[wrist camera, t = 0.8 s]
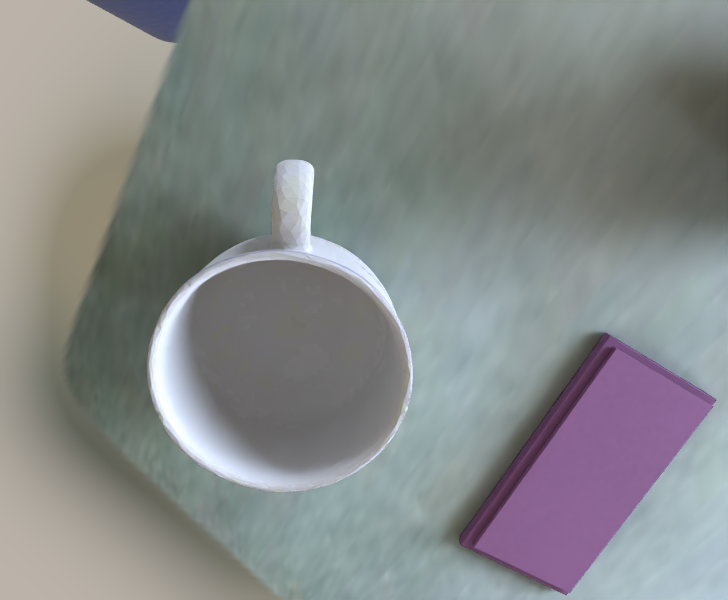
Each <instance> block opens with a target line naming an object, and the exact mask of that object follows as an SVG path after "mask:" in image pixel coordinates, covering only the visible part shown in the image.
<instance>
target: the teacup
mask: <svg viewBox="0 0 728 600" xmlns="http://www.w3.org/2000/svg"><path fill="white" fill-rule="evenodd" d="M313 179H314V168H313V166H312V165H311V164H310V163H308V162H305V161H302V160H284V161H282V162H279V163H278V164H277V165H276V168H275V174H274V181H273V197H272V234H270V235H265V236H260V237H256V238H253V239H250V240H247V241H244V242H242V243H240V244H237V245H235V246H234V247H232V248H230V249H228V250H226V251H225V252H223V253H222V254H220V255H219V256H217V257H216V258H215V259H214V260H213V261H211V262H210V263H209V264H208V265H207V266H206V267H205V268H203V269H202V270H201V271H200V272H199V273H197V274H196V275H194V276H193V277H192V278H190V279H189V280H188V281H187V282H185V283H184V284H183V285H182V286H181V287H180V288H179V290H178V291H177V292H176V293H175V294H174V296H173V297H172V298H171V300H170V301H169V302H168V304H167V305H166V306H165V308H164V310H163V311H162V313H161V315H160V317H159V319H158V321H157V324H156V326H155V329H154V332H153V335H152V338H151V341H150V345H149V351H148V357H147V379H148V386H149V391H150V395H151V398H152V402H153V405H154V408H155V410H156V413H157V415H158V417H159V418H160V420H161V422H162V424H163V426H164V428H165V430H166V431H167V433H168V434H169V435H170V437H171V438H172V440H173V441H174V442H175V443H176V444H177V445H178V446H179V448H180V449H181V450H182V451H183V452H184V453H186V454H187V455H188V456H189V457H190V458H191V459H192V460H193V461H195V462H196V463H197V464H198V465H200V466H202V467H203V468H205V469H207V470H208V471H210V472H212V473H213V474H215V475H217V476H219V477H221V478H224V479H226V480H229V481H231V482H234V483H236V484H239V485H241V486H245V487H250V488H254V489H259V490H263V491H269V492H277V491H279V492H294V491H305V490H311V489H315V488H319V487H323V486H327V485H331V484H333V483H335V482H338V481H340V480H342V479H344V478H346V477H348V476H350V475H352V474H354V473H355V472H356V471H358V470H360V469H362V468H363V467H364V466H365V465H366V464H367V463H369V462H370V461H372V460H373V459H374V458H375V457H376V456H377V455H378V454H379V453H380V452H381V451H382V450H383V449H384V448H385V447H386V445H387V444H388V443H389V441H390V440H391V439H392V437H393V436H394V435H395V433H396V431H397V429H398V427H399V426H400V424H401V422H402V420H403V418H404V415H405V413H406V411H407V406H408V403H409V400H410V396H411V391H412V386H413V368H412V356H411V351H410V347H409V343H408V339H407V336H406V333H405V330H404V327H403V325H402V324H401V322H400V320H399V318H398V316H397V314H396V312H395V309H394V307H393V304H392V302H391V300H390V298H389V296H388V294H387V292H386V290H385V289H384V287H383V285H382V284H381V282H380V281H379V280H378V278H377V277H376V276H375V274H374V273H373V272H372V271H371V270H370V269H369V268H368V267H367V266H366V265H365V264H364V263H363V262H362V261H361V260H360V259H359V258H358V257H356V256H355V255H353V254H352V253H351V252H349V251H348V250H346V249H344V248H343V247H341V246H339V245H337V244H335V243H332V242H330V241H327V240H324V239H321V238H318V237H314V236H312V235H311V233H310V224H311V209H312V194H313Z"/></svg>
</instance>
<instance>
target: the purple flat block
mask: <svg viewBox="0 0 728 600" xmlns="http://www.w3.org/2000/svg"><path fill="white" fill-rule="evenodd" d="M715 401H716V399H715V398H713V397H712V396H710V395H709V394H707V393H705V392H704V391H702V390H700V389H699V388H697V387H695V386H694V385H692V384H690V383H689V382H687V381H685V380H684V379H682V378H680V377H679V376H677V375H675V374H674V373H672V372H670V371H669V370H667V369H665V368H664V367H662V366H660V365H659V364H657V363H655V362H654V361H652V360H650V359H649V358H647V357H645V356H644V355H642V354H640V353H639V352H637V351H635V350H634V349H632V348H630V347H629V346H627V345H625V344H624V343H622V342H620V341H619V340H617V339H615V338H614V337H612V336H610V335H609V334H607V333H604V335H603V336H602V338H601V339H600V340H599V342H598V343H597V345H596V346H595V347H594V349H593V350H592V352H591V353H590V354H589V356H588V357H587V359H586V360H585V362H584V363H583V364H582V366H581V367H580V369H579V370H578V371H577V373H576V374H575V376H574V377H573V378H572V380H571V381H570V383H569V384H568V385H567V387H566V388H565V390H564V391H563V393H562V394H561V395H560V397H559V398H558V400H557V401H556V402H555V404H554V405H553V407H552V408H551V409H550V411H549V412H548V414H547V415H546V416H545V418H544V419H543V421H542V422H541V424H540V425H539V426H538V428H537V429H536V431H535V432H534V433H533V435H532V436H531V438H530V439H529V440H528V442H527V443H526V445H525V446H524V447H523V449H522V450H521V452H520V453H519V455H518V456H517V457H516V459H515V460H514V462H513V463H512V464H511V466H510V467H509V469H508V470H507V471H506V473H505V474H504V476H503V477H502V478H501V480H500V481H499V483H498V484H497V486H496V487H495V488H494V490H493V491H492V493H491V494H490V495H489V497H488V498H487V500H486V501H485V502H484V504H483V505H482V507H481V508H480V509H479V511H478V512H477V514H476V515H475V517H474V518H473V519H472V521H471V522H470V524H469V525H468V526H467V528H466V529H465V531H464V532H463V533H462V535H461V536H460V538H459V541H460V544H461V545H462V546H464V547H466V548H468V549H470V550H472V551H475V552H477V553H479V554H481V555H483V556H485V557H487V558H489V559H491V560H493V561H495V562H498V563H500V564H502V565H504V566H506V567H508V568H510V569H512V570H514V571H516V572H519V573H521V574H523V575H525V576H527V577H529V578H531V579H533V580H535V581H537V582H540V583H542V584H544V585H546V586H548V587H550V588H552V589H554V590H556V591H558V592H560V593H563V594H565V595H567V594H568V593H570V592H571V591H572V589H573V588H574V587H575V585H576V584H577V583H578V582H579V580H580V579H581V578H582V576H583V575H584V574H585V572H586V571H587V570H588V569H589V567H590V566H591V565H592V563H593V562H594V561H595V559H596V558H597V557H598V556H599V554H600V553H601V552H602V550H603V549H604V548H605V546H606V545H607V544H608V543H609V541H610V540H611V539H612V537H613V536H614V535H615V533H616V532H617V531H618V530H619V528H620V527H621V526H622V524H623V523H624V522H625V520H626V519H627V518H628V517H629V515H630V514H631V513H632V511H633V510H634V509H635V507H636V506H637V505H638V504H639V502H640V501H641V500H642V498H643V497H644V496H645V495H646V493H647V492H648V491H649V489H650V488H651V487H652V485H653V484H654V483H655V482H656V480H657V479H658V478H659V476H660V475H661V474H662V472H663V471H664V470H665V469H666V467H667V466H668V465H669V463H670V462H671V461H672V459H673V458H674V457H675V456H676V454H677V453H678V452H679V450H680V449H681V448H682V446H683V445H684V444H685V443H686V441H687V440H688V439H689V437H690V436H691V435H692V433H693V432H694V431H695V430H696V428H697V427H698V426H699V424H700V423H701V422H702V420H703V419H704V418H705V417H706V415H707V414H708V413H709V411H710V410H711V409H712V407H713V406H712V405H713V404H714V403H715Z"/></svg>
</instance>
